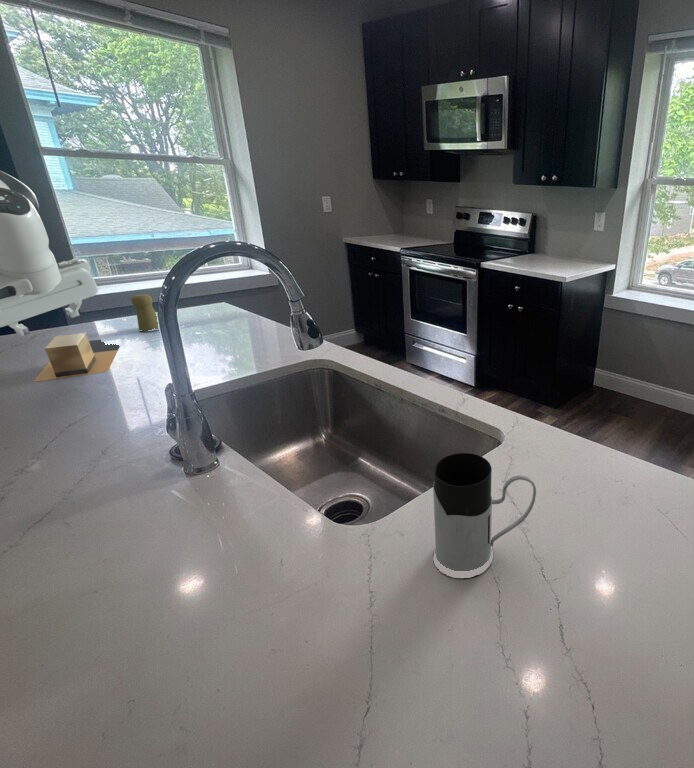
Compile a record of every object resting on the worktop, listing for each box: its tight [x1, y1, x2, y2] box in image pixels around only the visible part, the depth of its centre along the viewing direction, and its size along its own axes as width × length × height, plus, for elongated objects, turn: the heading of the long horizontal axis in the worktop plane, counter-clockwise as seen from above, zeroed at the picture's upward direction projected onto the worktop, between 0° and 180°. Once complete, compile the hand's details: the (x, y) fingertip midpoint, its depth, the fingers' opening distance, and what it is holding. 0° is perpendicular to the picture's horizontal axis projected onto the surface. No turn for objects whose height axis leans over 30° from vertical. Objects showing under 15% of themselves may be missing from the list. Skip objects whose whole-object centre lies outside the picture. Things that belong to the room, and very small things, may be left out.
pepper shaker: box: [131, 293, 158, 331], centre depth 145 cm, size 6×6×11 cm
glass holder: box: [432, 452, 537, 571], centre depth 64 cm, size 9×14×15 cm, turn 93°
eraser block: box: [44, 332, 96, 377], centre depth 118 cm, size 6×10×8 cm, turn 30°
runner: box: [32, 339, 121, 383], centre depth 126 cm, size 14×29×1 cm, turn 30°
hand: (49, 324), depth 101 cm, fingers open, 8 cm apart
